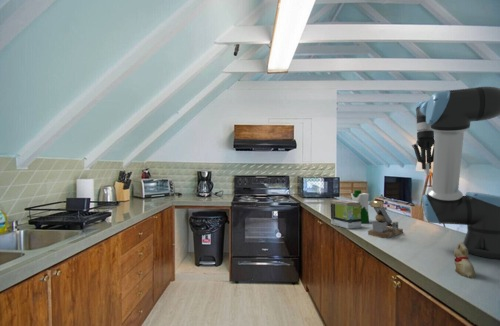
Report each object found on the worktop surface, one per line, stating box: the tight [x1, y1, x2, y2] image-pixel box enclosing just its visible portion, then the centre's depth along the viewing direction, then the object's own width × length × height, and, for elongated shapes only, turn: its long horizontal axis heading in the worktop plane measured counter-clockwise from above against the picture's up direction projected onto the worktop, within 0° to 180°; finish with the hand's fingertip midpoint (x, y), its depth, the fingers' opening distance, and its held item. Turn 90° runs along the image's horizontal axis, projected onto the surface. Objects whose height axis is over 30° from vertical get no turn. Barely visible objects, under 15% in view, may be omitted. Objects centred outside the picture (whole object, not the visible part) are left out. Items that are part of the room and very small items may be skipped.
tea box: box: [330, 199, 362, 230], centre depth 155 cm, size 15×10×15 cm
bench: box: [367, 221, 404, 239], centre depth 134 cm, size 17×9×6 cm, turn 125°
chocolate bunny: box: [453, 241, 476, 279], centre depth 84 cm, size 6×8×10 cm
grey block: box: [372, 219, 387, 233], centre depth 131 cm, size 4×5×5 cm
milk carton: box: [350, 189, 370, 225], centre depth 164 cm, size 9×9×20 cm
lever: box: [369, 200, 393, 227], centre depth 133 cm, size 3×5×17 cm
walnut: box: [374, 214, 383, 222], centre depth 131 cm, size 4×4×4 cm
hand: (426, 175), depth 138 cm, fingers closed
